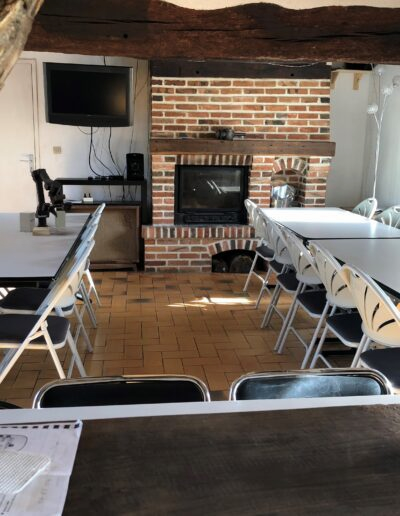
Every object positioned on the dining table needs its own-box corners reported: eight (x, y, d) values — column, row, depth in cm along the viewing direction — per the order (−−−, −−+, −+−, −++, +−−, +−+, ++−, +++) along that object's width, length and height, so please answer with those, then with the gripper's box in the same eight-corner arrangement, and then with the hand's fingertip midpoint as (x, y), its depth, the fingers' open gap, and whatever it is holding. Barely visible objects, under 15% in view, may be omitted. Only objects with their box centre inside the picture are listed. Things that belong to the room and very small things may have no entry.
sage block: (55, 226, 347) (54, 211, 345) (62, 225, 350) (62, 210, 348) (58, 227, 343) (57, 212, 341) (65, 227, 346) (65, 211, 344)
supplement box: (30, 232, 352) (29, 213, 349) (19, 231, 353) (19, 212, 351) (35, 230, 359) (35, 211, 356) (25, 229, 361) (24, 211, 358)
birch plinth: (34, 233, 350) (33, 227, 350) (50, 233, 353) (49, 227, 352) (32, 236, 341) (32, 230, 340) (49, 236, 343) (49, 230, 342)
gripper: (43, 190, 339) (49, 209, 333) (71, 189, 350) (78, 208, 344) (39, 201, 347) (45, 220, 341) (66, 200, 358) (73, 218, 352)
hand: (61, 216), depth 344 cm, fingers closed on sage block, 5 cm apart
